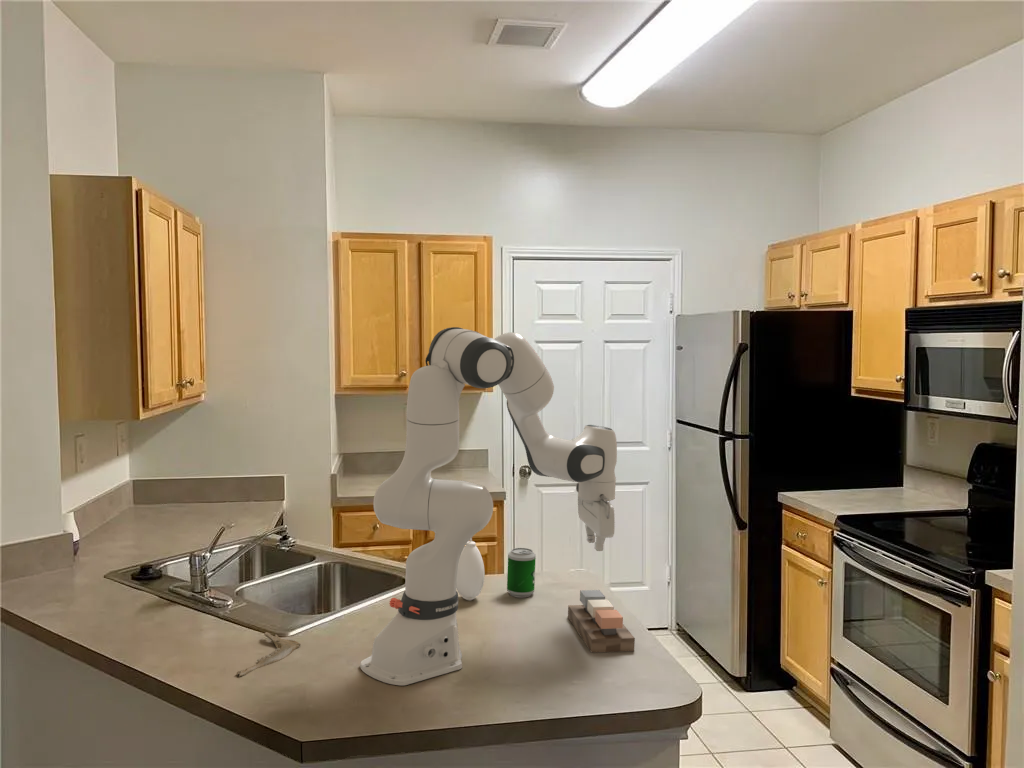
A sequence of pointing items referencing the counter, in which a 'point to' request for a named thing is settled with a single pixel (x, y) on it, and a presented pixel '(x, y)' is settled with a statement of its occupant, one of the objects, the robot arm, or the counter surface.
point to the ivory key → (598, 607)
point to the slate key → (590, 596)
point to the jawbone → (279, 653)
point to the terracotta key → (609, 621)
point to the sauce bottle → (470, 572)
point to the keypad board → (599, 633)
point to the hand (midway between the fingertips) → (594, 546)
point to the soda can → (521, 572)
